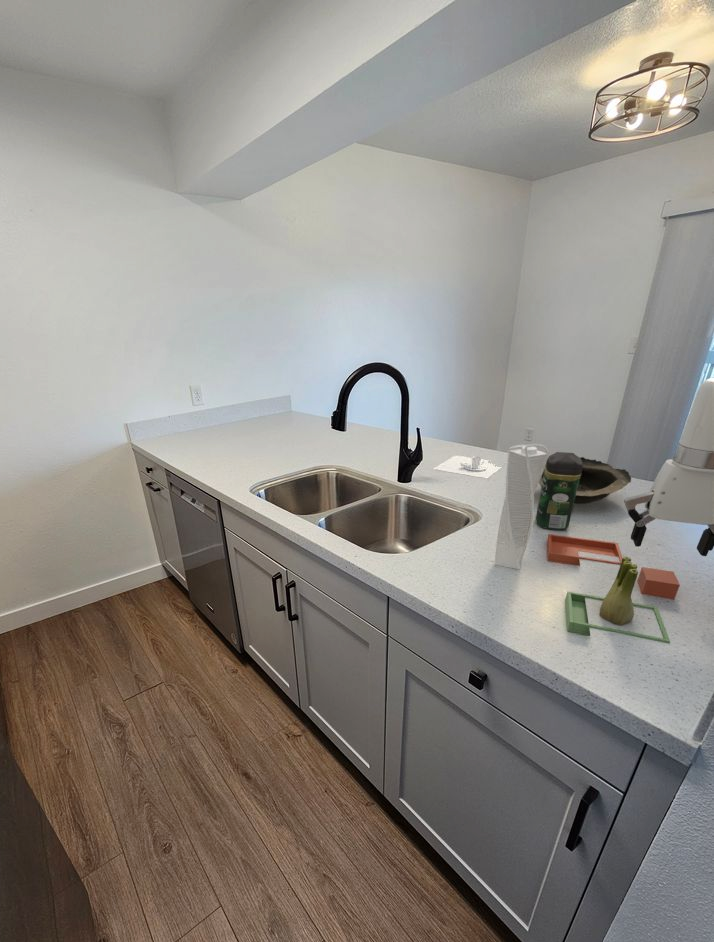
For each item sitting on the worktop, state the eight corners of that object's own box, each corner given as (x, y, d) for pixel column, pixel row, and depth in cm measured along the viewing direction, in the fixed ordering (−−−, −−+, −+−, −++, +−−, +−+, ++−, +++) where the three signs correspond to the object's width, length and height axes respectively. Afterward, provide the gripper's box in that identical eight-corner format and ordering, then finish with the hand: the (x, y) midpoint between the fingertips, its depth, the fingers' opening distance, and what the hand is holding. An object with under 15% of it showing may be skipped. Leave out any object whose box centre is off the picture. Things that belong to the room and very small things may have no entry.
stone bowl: (600, 482, 138) (609, 454, 133) (636, 520, 117) (648, 489, 112) (517, 480, 142) (523, 453, 137) (538, 517, 121) (546, 486, 117)
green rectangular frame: (653, 616, 79) (657, 606, 78) (666, 651, 71) (670, 641, 70) (565, 600, 85) (567, 591, 84) (567, 631, 77) (570, 621, 76)
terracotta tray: (615, 550, 101) (617, 542, 100) (621, 572, 92) (624, 564, 91) (546, 541, 106) (548, 533, 105) (547, 561, 98) (549, 553, 97)
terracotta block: (665, 593, 85) (673, 571, 83) (671, 607, 81) (680, 585, 79) (634, 588, 87) (641, 566, 85) (638, 601, 83) (646, 579, 81)
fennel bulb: (603, 608, 81) (620, 552, 76) (634, 619, 78) (655, 561, 72) (592, 622, 78) (610, 564, 72) (624, 634, 74) (645, 575, 69)
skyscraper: (524, 574, 94) (550, 446, 81) (488, 566, 97) (507, 443, 85) (528, 557, 100) (552, 436, 87) (493, 551, 103) (512, 434, 91)
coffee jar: (534, 514, 120) (547, 448, 112) (566, 518, 117) (582, 450, 109) (534, 529, 112) (549, 459, 104) (569, 533, 109) (587, 461, 101)
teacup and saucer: (457, 469, 158) (459, 458, 156) (466, 463, 163) (467, 452, 161) (481, 473, 153) (483, 461, 151) (490, 467, 158) (491, 456, 156)
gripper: (763, 455, 71) (721, 547, 79) (636, 446, 78) (609, 531, 86) (783, 469, 65) (736, 566, 73) (644, 458, 72) (614, 548, 80)
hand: (667, 547), depth 79 cm, fingers open, 9 cm apart
